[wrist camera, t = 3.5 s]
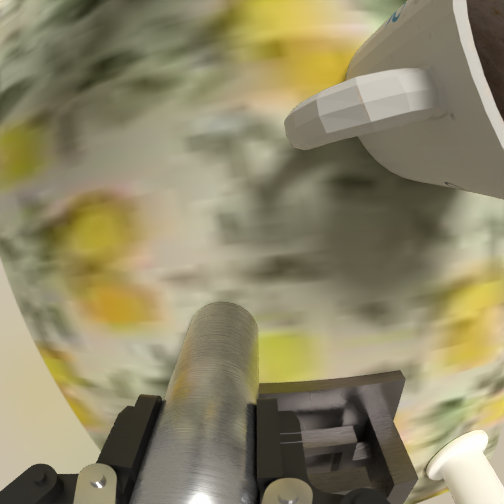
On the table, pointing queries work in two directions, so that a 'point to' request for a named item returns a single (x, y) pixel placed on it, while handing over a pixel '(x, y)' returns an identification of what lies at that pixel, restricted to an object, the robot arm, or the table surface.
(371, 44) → the mug
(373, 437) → the bracket
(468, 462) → the candle
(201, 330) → the tube
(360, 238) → the table surface
